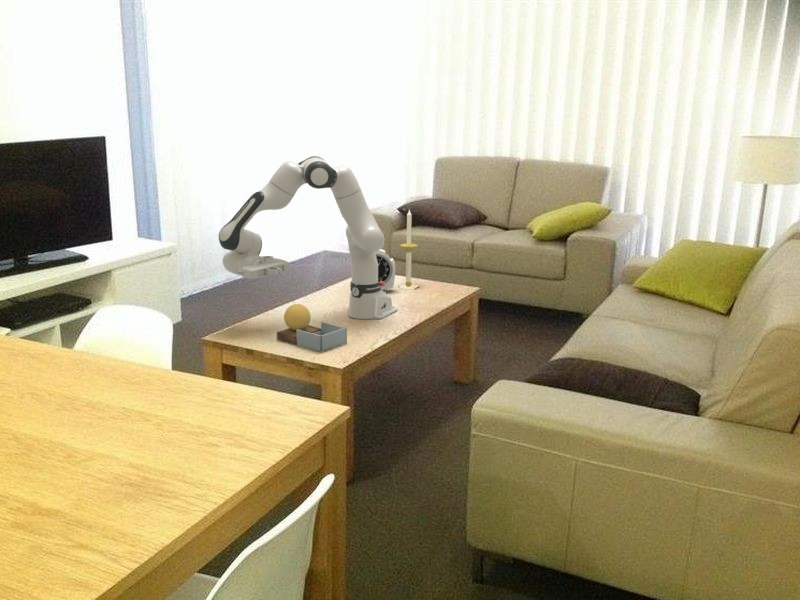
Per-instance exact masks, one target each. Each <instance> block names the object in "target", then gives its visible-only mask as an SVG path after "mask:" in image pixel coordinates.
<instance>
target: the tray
mask: <svg viewBox="0 0 800 600" xmlns="http://www.w3.org/2000/svg"><path fill="white" fill-rule="evenodd" d="M320 325H321V326H320V328H321V331H318V332H315V333H310V332H306V331H302V330H299V329H297V330H296V335H297V345H296V346H299V347H302V348H305V349H308V350H312V351H316V352H319V353H323V352H325V351H329V350H332V349H335V348H337V346H338V347H340V346H343V345H346V344H347V343H348V341H347V340H348V334H347V333H348V330H347V329H348V328H347V327H346V326H340V325H337V324H333V323H329V322H325V321H321V322H320ZM345 343H346V344H345ZM342 344H343V345H342ZM334 347H335V348H334ZM331 348H332V349H331Z"/></svg>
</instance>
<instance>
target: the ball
mask: <svg viewBox="0 0 800 600" xmlns="http://www.w3.org/2000/svg"><path fill="white" fill-rule="evenodd" d="M283 321H284V323H285V325H286V327H288V328H290V329H292V330H297V329H299V330H302V329H304V328H306V327H307V326H308V325H309V324H310V322H311V312H310V311H309V309H308V308H307V307H306V306H305V305H303V304H300V303H295V304H294V303H293V304H291V305H289V306H288V307H287V308H286V309H285V312H284V314H283Z"/></svg>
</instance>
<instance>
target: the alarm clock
mask: <svg viewBox="0 0 800 600" xmlns="http://www.w3.org/2000/svg"><path fill="white" fill-rule="evenodd" d="M375 255H376V259H377V261H378V282H380V281H382V282H385V286H380V287H381V290H382V291H383V292H387V293H388V290H390V289H394V284H395V278H396V263H395V260H394V258H393V257H392V258H391V257H390V256H389V254H388V253H386V250H385V249H382V248H381V249H380V250H378V251H376V252H375Z"/></svg>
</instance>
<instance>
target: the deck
mask: <svg viewBox="0 0 800 600" xmlns="http://www.w3.org/2000/svg"><path fill="white" fill-rule="evenodd" d="M302 331H306V332H310V333H315V332H318V331H321V327H318V326H317V327H316V326H313V325H309V324H308V326H307V327H306V328H304V329H302ZM276 340H277V341H280V340H281V341H280V342H284V343H287V342H288V343H287V344H290V343H292V344H291V345H295V346H298V345H297V335H296V330H292V329H290V328H289V327H288V328H286V329H283V330H279V331H276Z"/></svg>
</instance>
